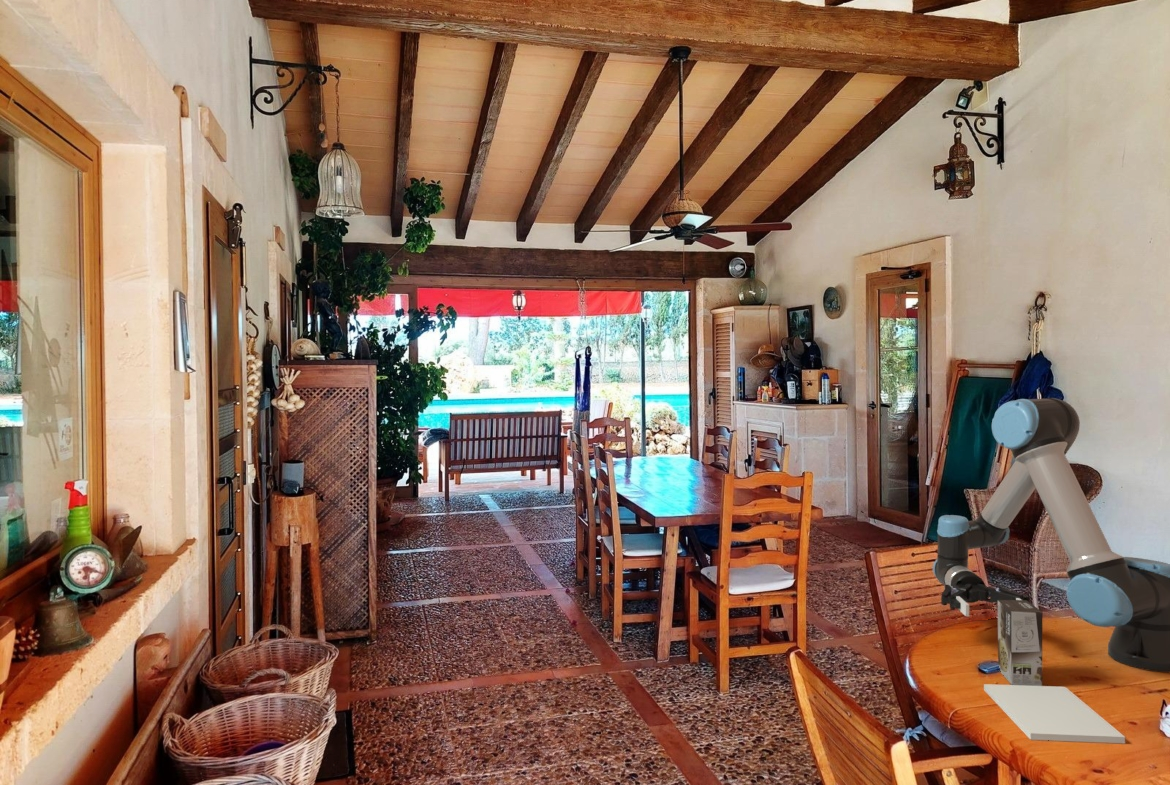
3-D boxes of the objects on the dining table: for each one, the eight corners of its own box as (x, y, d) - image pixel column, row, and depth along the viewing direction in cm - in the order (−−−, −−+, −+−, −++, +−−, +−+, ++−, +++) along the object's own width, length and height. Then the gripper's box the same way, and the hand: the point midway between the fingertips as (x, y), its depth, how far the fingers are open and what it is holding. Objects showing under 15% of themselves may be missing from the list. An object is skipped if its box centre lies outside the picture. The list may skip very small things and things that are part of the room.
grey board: (1064, 692, 160) (1064, 686, 160) (1125, 743, 138) (1125, 737, 138) (983, 689, 162) (983, 684, 162) (1030, 739, 141) (1030, 733, 140)
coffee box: (1044, 687, 163) (1043, 612, 162) (1010, 685, 164) (1010, 611, 164) (1028, 671, 172) (1028, 599, 171) (997, 669, 173) (996, 598, 173)
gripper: (1016, 600, 198) (1055, 629, 177) (914, 597, 201) (941, 625, 180) (1016, 571, 198) (1056, 597, 177) (915, 569, 201) (942, 594, 180)
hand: (998, 611), depth 178 cm, fingers open, 13 cm apart
